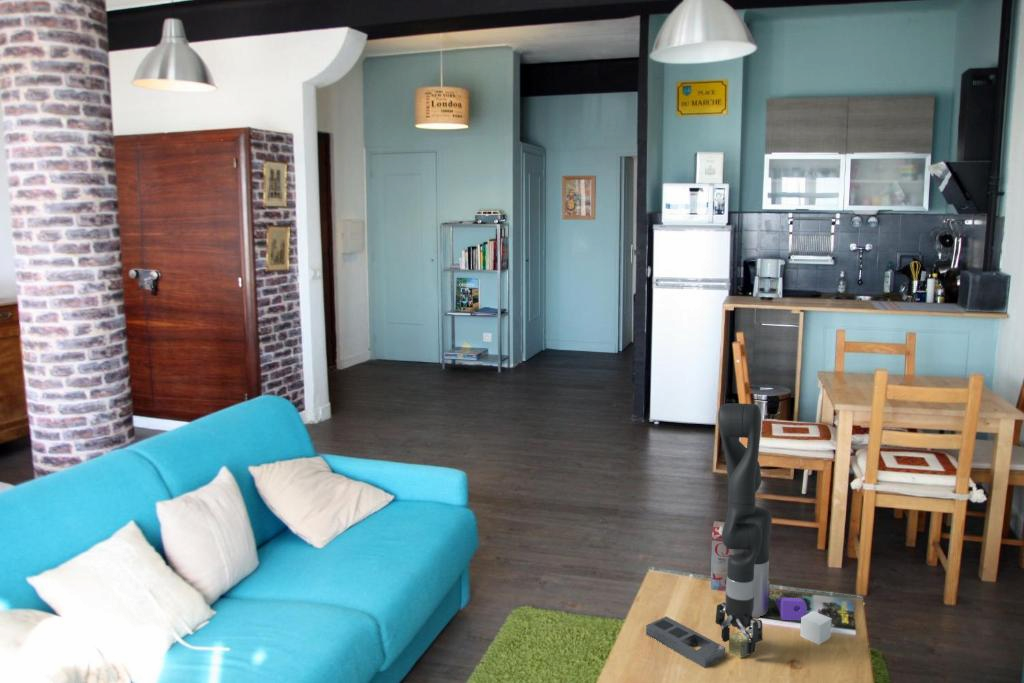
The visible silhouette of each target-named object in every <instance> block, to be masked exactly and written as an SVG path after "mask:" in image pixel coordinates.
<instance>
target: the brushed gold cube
mask: <svg viewBox="0 0 1024 683" xmlns="http://www.w3.org/2000/svg"><path fill="white" fill-rule="evenodd" d="M747 642H748V640H747V638H746V636H745V635H744V634H743V633H742V632H740V631H736V632H735V633H733V634H731V635H730V636H729V641H728V653H729V654H730V655H733V657H736V658H739V659H740V660H741V659H743V658H745V657H746V656H748V655H749V654H747ZM749 656H750V655H749Z"/></svg>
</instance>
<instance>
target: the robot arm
mask: <svg viewBox="0 0 1024 683" xmlns="http://www.w3.org/2000/svg"><path fill="white" fill-rule="evenodd" d="M717 419H718V420H717V423H718V424H717V425H718V428H719V434H720V438H721V442H722V445H723V450H724V456H725V464H726V474H727V479H728V507H727V512H726V517H725V524H724V527H723V531H722V541H723V544H724V545H725V547H727V548H728V549H735V550H737V553H735V554H734V555H731V556H730V557H729V559H728V570H727V581H726V591H725V602H724V601H723V602H721V603H719V604H717V605H716V614H715V623H716V625H719V626H720V629H721V635H720V637H721V640H722V642H724V643H726V642H729V636H731V635H730V634H731V628H730V626H732V627H734V628H737V629H738V630H740V631H741V633H742V634H744V635H745V636H746V638H747V640H748V642H747V654H749V656H751V655H752V654H754V653H755V652H756V644H758V643H759V642H762V641H763V621H762V620H761V619H758V618H761V617H760V616H763V615H765V614H766V615H767V613H768V611H769V610H768V609H769V608H770V607H769V606H770V587H771V586H770V585H771V581H770V580H769V572H770V571H769V566H770V545H771V533H772V522H773V519H772V518H773V516H772V512H771V510H769V509H768V508H765V507H759V506H756V493H757V492H758V490H759V489H760V486H761V484H762V473H761V465H760V461H759V453H760V452H759V451H760V443H761V433H762V432H761V430H762V413H761V409H760V406H758V404H756V403H738V402H737V403H736V402H733V403H732V402H730V403H729V402H728V403H723V404H722V405H721V406H720V407H719V408H718V413H717ZM739 438H743V439H744V438H745V439H747V445H746V446H745V445H744V444H743V443H742V442H741V441H740V440H739ZM766 615H765V616H766ZM726 616H727V618H726ZM763 617H764V616H763ZM755 618H757V619H755ZM747 628H748V630H747Z"/></svg>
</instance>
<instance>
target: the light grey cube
mask: <svg viewBox="0 0 1024 683" xmlns="http://www.w3.org/2000/svg"><path fill="white" fill-rule="evenodd" d="M832 620H833V618H832V617H829V616H826V615H824V614H821V613H819V612H817V611H814V610H811V611H810V612H809V613H808V612H807V614H806V615H805V616H803V617H801V622H800V638H803V639H806V640H808V641H810V642H812V643H814V644H817V645H821V644H823V643H825V642H826V641H827V640H829V639H831V638H830V637H831V636H832V635H831V634H832Z"/></svg>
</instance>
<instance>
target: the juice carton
mask: <svg viewBox="0 0 1024 683" xmlns="http://www.w3.org/2000/svg"><path fill="white" fill-rule="evenodd" d="M724 524H725V522H724V521H716V520H714V521H713V526H712V527H713V529H712V533H711V558H710V559H711V561H710V562H711V563H710V564H711V569H710V570H711V571H710V590H713V591H714V590H715V591H722V592H726V581H727V570H728V559H729V557H730V556H731V555H734V554H736V549H728V548H727V547H725V545H724V544H723V541H722V531H723V527H724Z"/></svg>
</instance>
